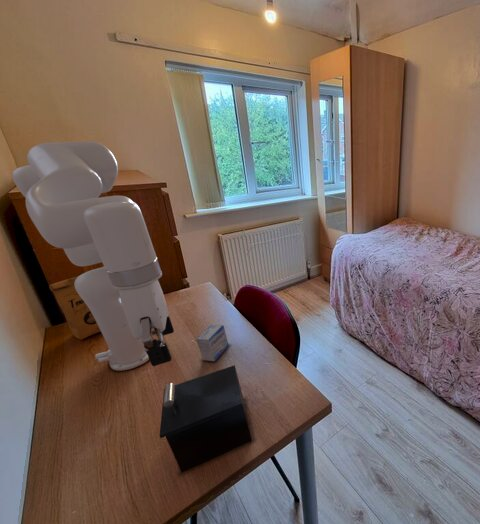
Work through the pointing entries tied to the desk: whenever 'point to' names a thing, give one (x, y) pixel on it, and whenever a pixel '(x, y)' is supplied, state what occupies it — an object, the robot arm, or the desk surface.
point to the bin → (210, 438)
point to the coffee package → (74, 309)
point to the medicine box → (212, 342)
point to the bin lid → (199, 400)
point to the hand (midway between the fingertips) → (164, 347)
